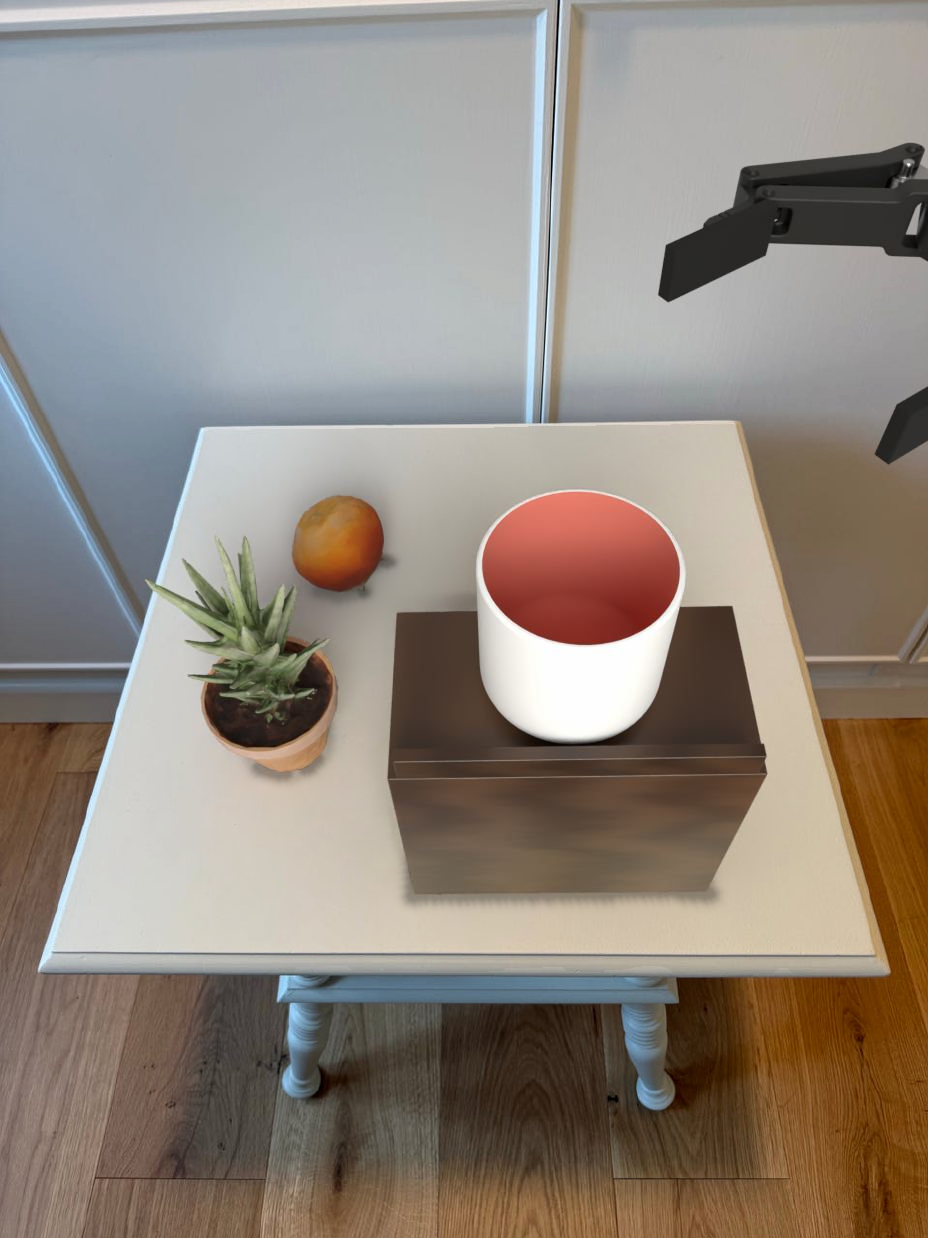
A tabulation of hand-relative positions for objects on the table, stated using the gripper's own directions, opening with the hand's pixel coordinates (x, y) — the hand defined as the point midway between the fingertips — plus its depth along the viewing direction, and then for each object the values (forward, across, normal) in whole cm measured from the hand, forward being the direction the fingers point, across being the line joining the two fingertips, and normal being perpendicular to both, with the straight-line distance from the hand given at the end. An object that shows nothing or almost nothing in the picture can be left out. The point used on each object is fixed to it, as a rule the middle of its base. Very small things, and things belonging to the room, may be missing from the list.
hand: (769, 348), depth 40 cm
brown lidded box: (+10, -1, -36) cm, 37 cm away
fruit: (+11, +28, -36) cm, 47 cm away
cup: (+10, 0, -18) cm, 21 cm away
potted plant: (+23, +16, -36) cm, 46 cm away
